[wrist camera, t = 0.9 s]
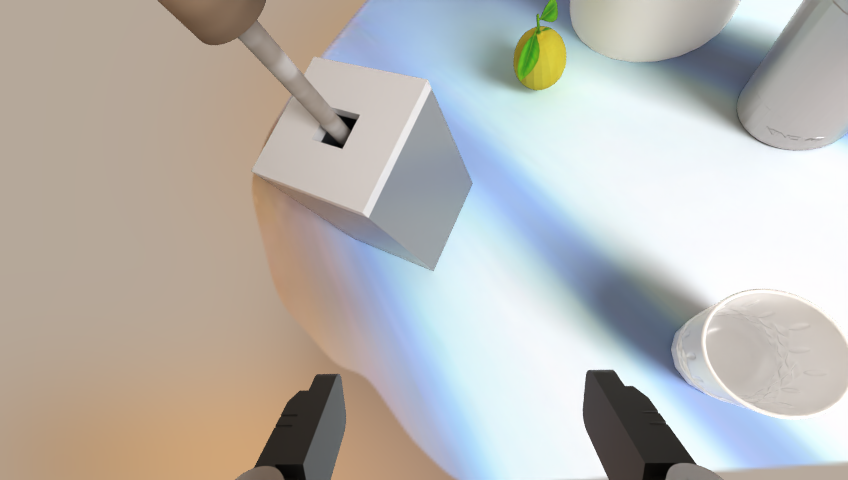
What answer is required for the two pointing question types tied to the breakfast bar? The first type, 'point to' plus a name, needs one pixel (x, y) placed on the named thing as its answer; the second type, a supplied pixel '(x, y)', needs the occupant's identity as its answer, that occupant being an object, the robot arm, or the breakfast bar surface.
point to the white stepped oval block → (649, 26)
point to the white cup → (765, 354)
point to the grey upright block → (372, 161)
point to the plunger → (255, 49)
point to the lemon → (540, 53)
